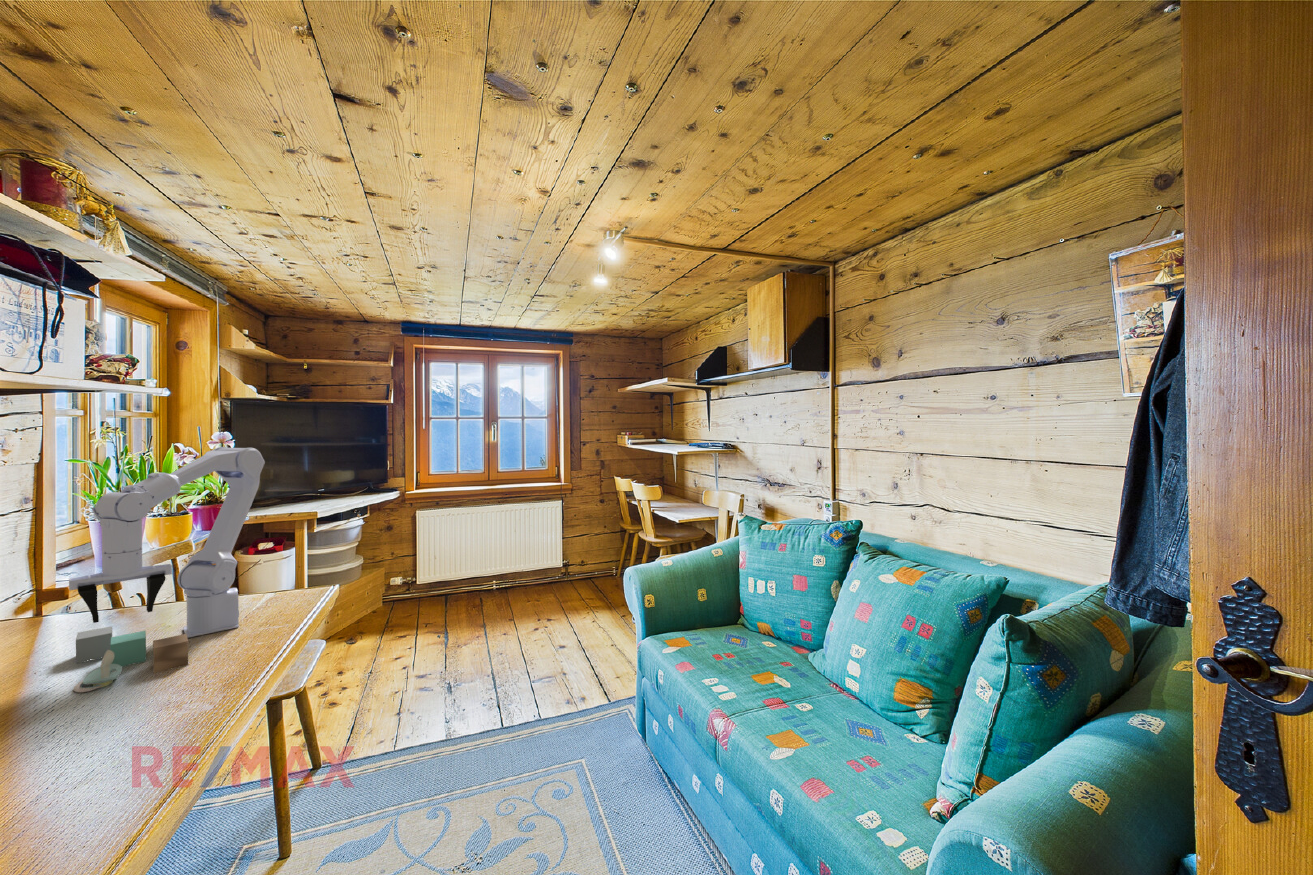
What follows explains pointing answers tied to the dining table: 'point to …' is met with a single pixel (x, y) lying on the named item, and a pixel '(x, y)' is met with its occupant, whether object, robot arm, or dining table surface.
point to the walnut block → (170, 653)
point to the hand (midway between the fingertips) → (123, 615)
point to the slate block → (93, 644)
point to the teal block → (129, 648)
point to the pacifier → (101, 674)
